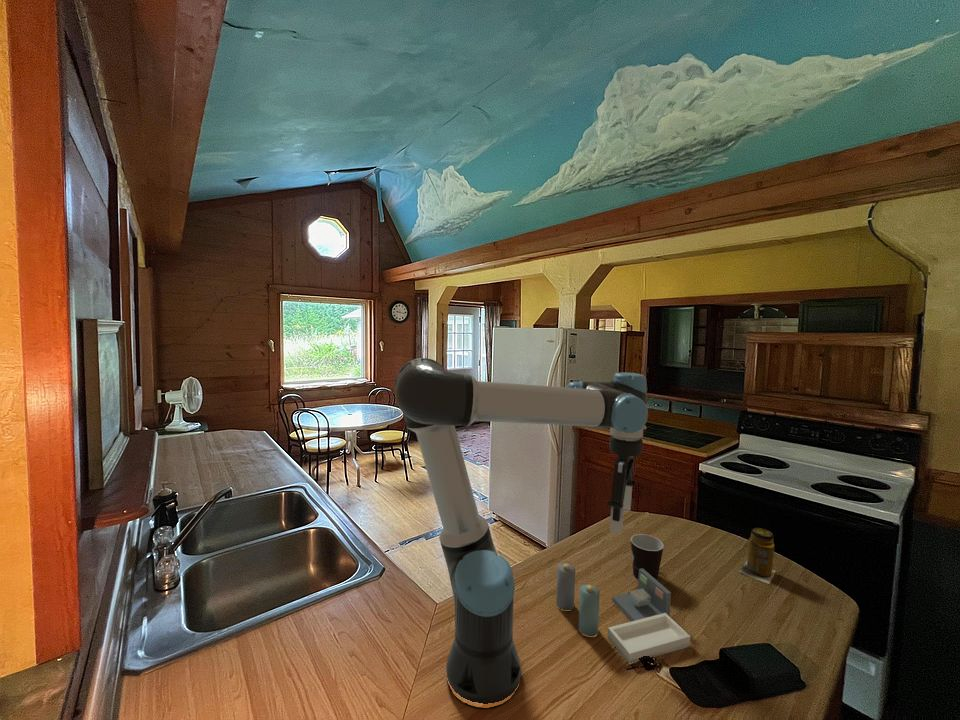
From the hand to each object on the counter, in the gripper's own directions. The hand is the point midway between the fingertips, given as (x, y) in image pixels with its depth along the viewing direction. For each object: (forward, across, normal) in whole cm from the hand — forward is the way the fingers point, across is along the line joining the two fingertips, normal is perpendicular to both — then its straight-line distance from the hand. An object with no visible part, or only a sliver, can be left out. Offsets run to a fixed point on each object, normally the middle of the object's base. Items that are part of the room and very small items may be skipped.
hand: (620, 520), depth 102 cm
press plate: (+20, +1, -6) cm, 21 cm away
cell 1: (+23, -6, +11) cm, 26 cm away
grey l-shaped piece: (+22, +1, -6) cm, 23 cm away
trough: (+23, -9, -9) cm, 26 cm away
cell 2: (+23, -12, +4) cm, 26 cm away
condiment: (+22, +34, -34) cm, 53 cm away
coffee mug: (+22, +18, -6) cm, 29 cm away
